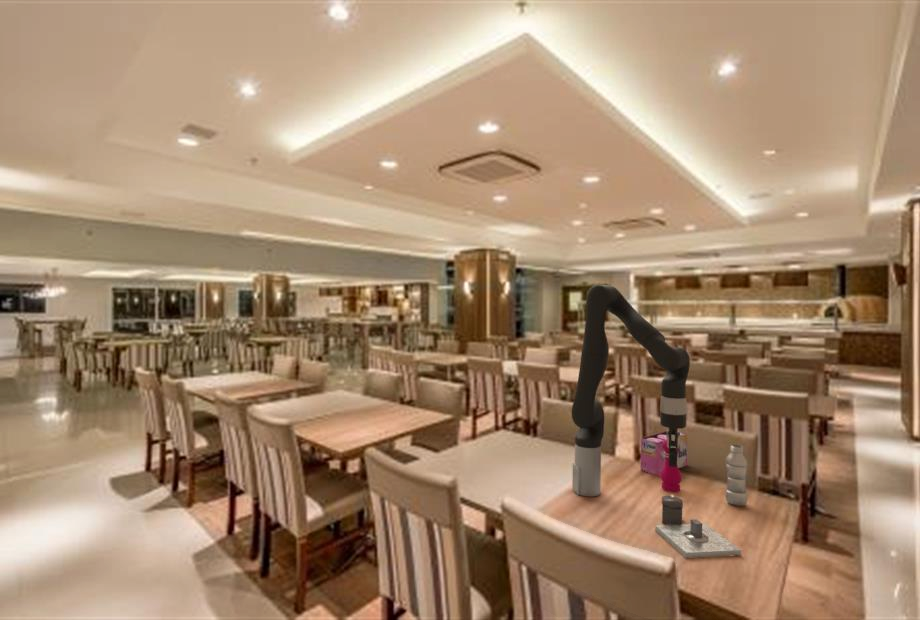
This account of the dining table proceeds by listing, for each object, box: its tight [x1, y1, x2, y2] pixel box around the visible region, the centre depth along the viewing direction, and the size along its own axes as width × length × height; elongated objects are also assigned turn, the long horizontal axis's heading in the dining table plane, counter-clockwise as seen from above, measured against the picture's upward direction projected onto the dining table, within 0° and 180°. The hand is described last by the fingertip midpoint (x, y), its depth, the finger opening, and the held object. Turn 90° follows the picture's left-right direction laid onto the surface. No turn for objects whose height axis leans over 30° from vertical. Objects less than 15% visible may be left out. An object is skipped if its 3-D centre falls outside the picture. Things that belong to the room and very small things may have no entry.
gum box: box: [640, 431, 688, 476], centre depth 201 cm, size 24×8×14 cm, turn 125°
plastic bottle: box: [724, 444, 748, 507], centre depth 164 cm, size 6×7×20 cm
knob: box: [661, 494, 684, 525], centre depth 151 cm, size 6×6×7 cm
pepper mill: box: [659, 440, 682, 493], centre depth 177 cm, size 7×7×20 cm
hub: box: [654, 518, 742, 559], centre depth 138 cm, size 16×16×6 cm
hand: (672, 462), depth 151 cm, fingers open, 8 cm apart
